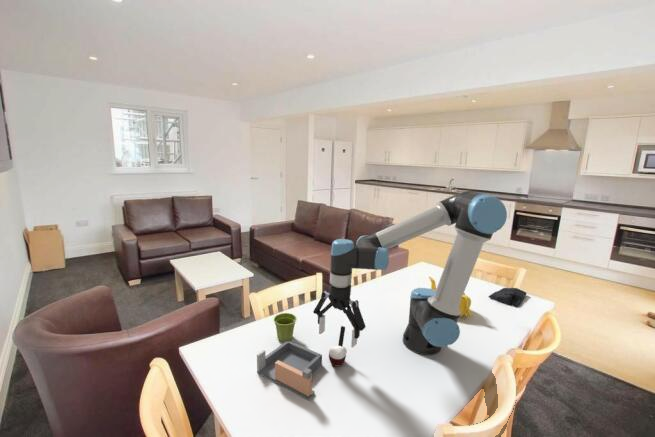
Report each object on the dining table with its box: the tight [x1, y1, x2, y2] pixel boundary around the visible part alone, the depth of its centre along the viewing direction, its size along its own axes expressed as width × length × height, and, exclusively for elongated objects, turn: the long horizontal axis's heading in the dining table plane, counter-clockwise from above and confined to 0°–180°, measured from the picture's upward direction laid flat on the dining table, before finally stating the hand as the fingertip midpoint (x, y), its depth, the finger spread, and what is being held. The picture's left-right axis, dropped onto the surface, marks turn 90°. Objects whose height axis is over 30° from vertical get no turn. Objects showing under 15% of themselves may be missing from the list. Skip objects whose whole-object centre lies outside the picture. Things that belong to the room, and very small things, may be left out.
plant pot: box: [273, 312, 298, 343], centre depth 128 cm, size 9×9×9 cm
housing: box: [256, 340, 323, 401], centre depth 108 cm, size 22×16×7 cm
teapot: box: [428, 276, 472, 318], centre depth 156 cm, size 25×18×14 cm
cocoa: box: [328, 325, 348, 367], centre depth 114 cm, size 10×6×12 cm, turn 133°
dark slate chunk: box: [488, 287, 527, 308], centre depth 173 cm, size 15×22×5 cm
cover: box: [275, 360, 313, 397], centre depth 100 cm, size 14×2×8 cm, turn 57°
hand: (337, 338), depth 113 cm, fingers open, 13 cm apart
